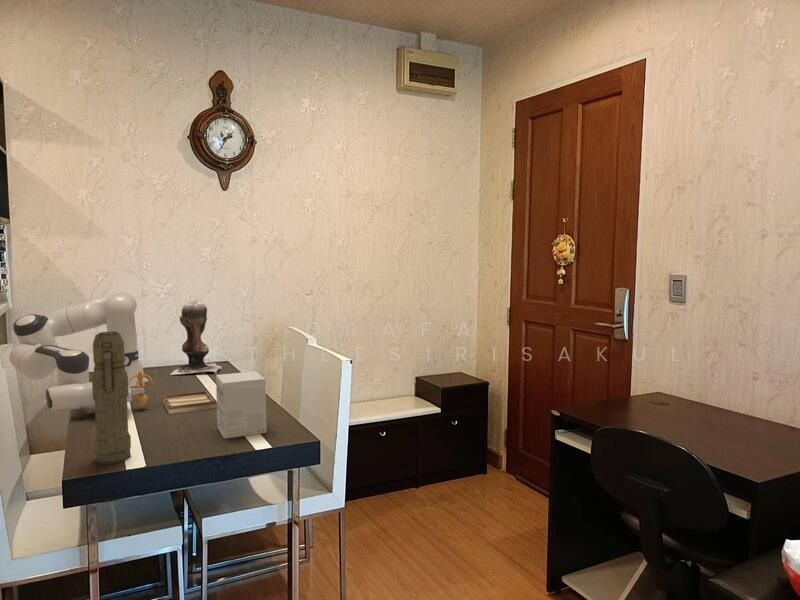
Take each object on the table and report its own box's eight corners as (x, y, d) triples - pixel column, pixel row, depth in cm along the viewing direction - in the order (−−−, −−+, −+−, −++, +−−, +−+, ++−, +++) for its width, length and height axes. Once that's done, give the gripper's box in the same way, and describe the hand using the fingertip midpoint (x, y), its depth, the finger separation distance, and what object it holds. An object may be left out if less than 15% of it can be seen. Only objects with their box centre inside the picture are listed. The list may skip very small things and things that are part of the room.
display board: (162, 402, 215) (162, 395, 215) (206, 396, 223) (206, 390, 223) (169, 414, 199) (168, 407, 199) (216, 408, 207) (215, 401, 207)
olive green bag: (96, 468, 150) (90, 336, 147) (94, 454, 160) (88, 331, 157) (133, 462, 154) (128, 334, 151) (129, 448, 164) (124, 329, 161)
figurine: (129, 408, 201) (128, 374, 199) (128, 403, 206) (126, 371, 204) (155, 404, 205) (153, 372, 203) (153, 400, 210) (151, 368, 208)
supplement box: (257, 421, 191) (256, 370, 189) (267, 433, 179) (266, 378, 178) (216, 427, 185) (215, 374, 183) (223, 439, 173) (222, 382, 172)
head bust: (225, 362, 288) (220, 294, 281) (218, 378, 263) (213, 304, 257) (179, 365, 284) (174, 296, 278) (168, 381, 260) (162, 306, 253)
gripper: (100, 395, 207) (141, 391, 214) (101, 409, 190) (147, 404, 196) (99, 378, 207) (140, 374, 214) (101, 391, 189) (146, 386, 196)
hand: (143, 388), depth 205 cm, fingers closed on figurine
